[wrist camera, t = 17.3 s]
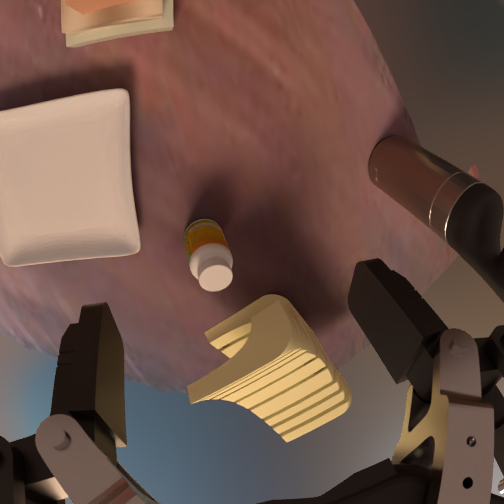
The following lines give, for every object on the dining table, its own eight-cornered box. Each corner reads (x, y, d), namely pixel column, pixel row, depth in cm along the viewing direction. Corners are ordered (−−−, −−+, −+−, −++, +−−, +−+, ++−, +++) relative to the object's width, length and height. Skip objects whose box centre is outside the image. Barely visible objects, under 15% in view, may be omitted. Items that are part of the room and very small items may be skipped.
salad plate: (10, 256, 37) (3, 270, 34) (-23, 115, 25) (-36, 121, 22) (142, 241, 43) (142, 255, 40) (132, 83, 31) (129, 86, 28)
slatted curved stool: (321, 338, 67) (358, 404, 53) (260, 374, 69) (286, 442, 55) (256, 254, 49) (301, 343, 35) (173, 308, 50) (190, 404, 37)
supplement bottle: (177, 226, 42) (185, 270, 35) (215, 211, 43) (231, 252, 35) (191, 256, 46) (202, 302, 38) (226, 242, 46) (243, 286, 39)
